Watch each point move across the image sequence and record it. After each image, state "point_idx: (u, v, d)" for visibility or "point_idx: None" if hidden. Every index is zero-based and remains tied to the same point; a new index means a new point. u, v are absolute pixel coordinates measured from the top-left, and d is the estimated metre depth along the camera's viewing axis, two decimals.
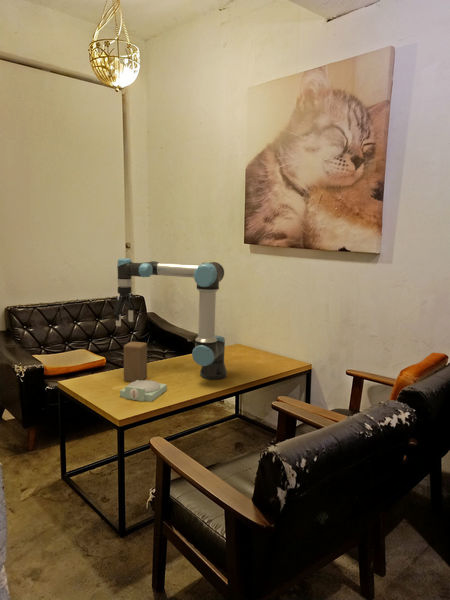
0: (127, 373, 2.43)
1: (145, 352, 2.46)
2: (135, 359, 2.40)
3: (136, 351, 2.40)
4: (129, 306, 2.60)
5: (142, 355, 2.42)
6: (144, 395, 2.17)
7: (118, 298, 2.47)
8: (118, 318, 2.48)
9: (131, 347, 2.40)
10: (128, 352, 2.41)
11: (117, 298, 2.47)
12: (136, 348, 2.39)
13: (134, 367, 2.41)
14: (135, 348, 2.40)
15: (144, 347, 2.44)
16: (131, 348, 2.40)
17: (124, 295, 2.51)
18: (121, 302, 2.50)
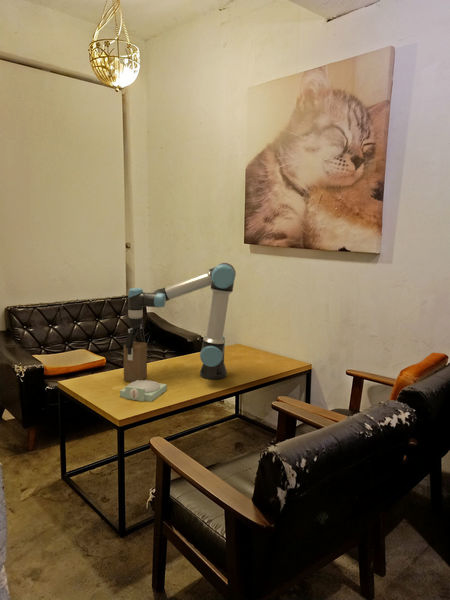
0: (127, 373, 2.43)
1: (145, 352, 2.46)
2: (135, 359, 2.40)
3: (136, 351, 2.40)
4: (139, 338, 2.48)
5: (142, 355, 2.42)
6: (144, 395, 2.17)
7: (129, 331, 2.37)
8: (130, 352, 2.39)
9: None
10: None
11: (128, 331, 2.37)
12: (136, 348, 2.39)
13: (134, 367, 2.41)
14: (135, 348, 2.40)
15: (144, 347, 2.44)
16: None
17: (135, 326, 2.41)
18: (132, 334, 2.40)
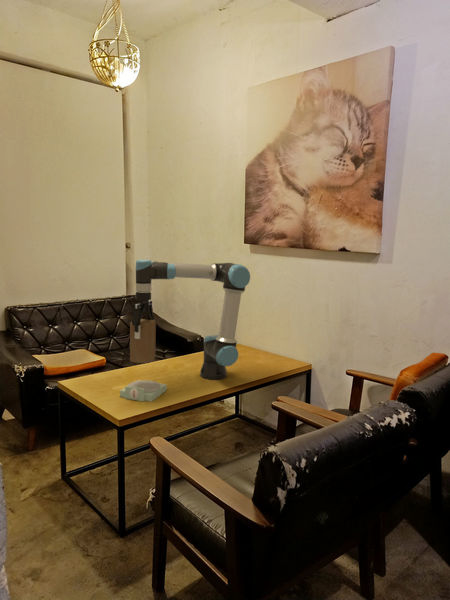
0: (133, 353, 2.21)
1: (153, 330, 2.24)
2: (142, 337, 2.19)
3: (144, 328, 2.18)
4: (147, 316, 2.27)
5: (150, 333, 2.20)
6: (144, 395, 2.17)
7: (136, 306, 2.15)
8: (137, 330, 2.17)
9: None
10: None
11: (135, 306, 2.16)
12: (144, 325, 2.18)
13: (142, 347, 2.20)
14: (142, 325, 2.18)
15: (152, 325, 2.23)
16: None
17: (143, 302, 2.19)
18: (140, 310, 2.19)
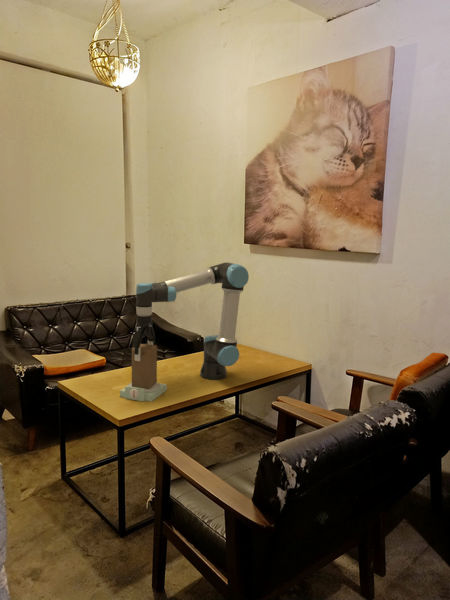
0: (135, 379, 2.22)
1: (155, 356, 2.26)
2: (144, 363, 2.20)
3: (145, 354, 2.19)
4: (149, 336, 2.28)
5: (152, 359, 2.21)
6: (144, 395, 2.17)
7: (137, 329, 2.16)
8: (137, 352, 2.16)
9: (140, 350, 2.20)
10: None
11: (136, 329, 2.16)
12: (145, 351, 2.19)
13: (143, 372, 2.21)
14: (144, 351, 2.19)
15: (154, 350, 2.24)
16: (140, 351, 2.19)
17: (144, 325, 2.20)
18: (140, 333, 2.19)
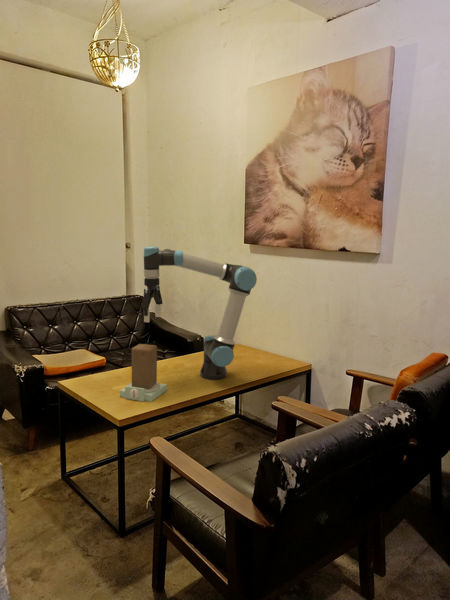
0: (135, 379, 2.22)
1: (155, 356, 2.26)
2: (144, 363, 2.20)
3: (145, 354, 2.19)
4: (156, 300, 2.34)
5: (152, 359, 2.21)
6: (144, 395, 2.17)
7: (146, 291, 2.21)
8: (147, 313, 2.22)
9: (140, 350, 2.20)
10: (137, 356, 2.20)
11: (145, 291, 2.22)
12: (145, 351, 2.19)
13: (143, 372, 2.21)
14: (144, 351, 2.19)
15: (154, 350, 2.24)
16: (140, 351, 2.19)
17: (152, 287, 2.26)
18: (149, 295, 2.25)
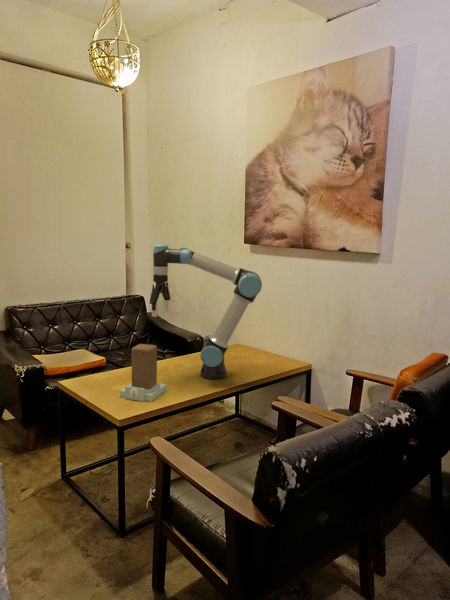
0: (135, 379, 2.22)
1: (155, 356, 2.26)
2: (144, 363, 2.20)
3: (145, 354, 2.19)
4: (164, 296, 2.45)
5: (152, 359, 2.21)
6: (144, 395, 2.17)
7: (155, 287, 2.32)
8: (154, 308, 2.33)
9: (140, 350, 2.20)
10: (137, 356, 2.20)
11: (153, 287, 2.32)
12: (145, 351, 2.19)
13: (143, 372, 2.21)
14: (144, 351, 2.19)
15: (154, 350, 2.24)
16: (140, 351, 2.20)
17: (160, 284, 2.36)
18: (157, 291, 2.35)
